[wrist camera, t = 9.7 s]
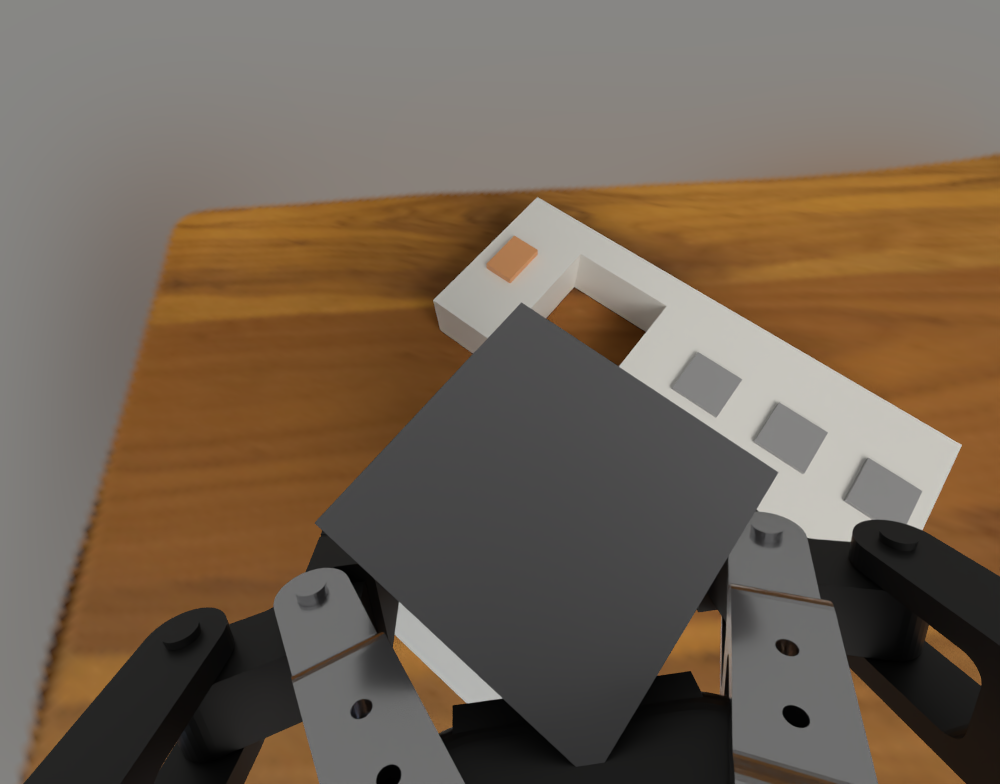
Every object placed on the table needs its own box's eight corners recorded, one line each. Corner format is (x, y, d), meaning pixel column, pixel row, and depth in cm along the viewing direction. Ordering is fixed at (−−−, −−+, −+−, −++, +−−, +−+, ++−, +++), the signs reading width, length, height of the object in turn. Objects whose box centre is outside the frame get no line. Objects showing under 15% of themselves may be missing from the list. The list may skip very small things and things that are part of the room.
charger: (512, 487, 19) (521, 302, 8) (611, 565, 18) (778, 471, 7) (432, 586, 18) (314, 522, 7) (534, 678, 16) (592, 782, 6)
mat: (487, 429, 27) (486, 423, 26) (687, 581, 24) (695, 580, 23) (351, 588, 24) (345, 587, 23) (560, 787, 21) (563, 795, 20)
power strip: (534, 233, 32) (537, 191, 29) (914, 463, 26) (969, 442, 23) (440, 330, 30) (432, 295, 26) (838, 615, 23) (890, 614, 20)
